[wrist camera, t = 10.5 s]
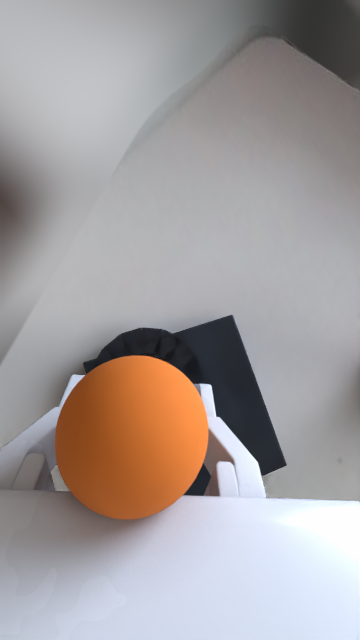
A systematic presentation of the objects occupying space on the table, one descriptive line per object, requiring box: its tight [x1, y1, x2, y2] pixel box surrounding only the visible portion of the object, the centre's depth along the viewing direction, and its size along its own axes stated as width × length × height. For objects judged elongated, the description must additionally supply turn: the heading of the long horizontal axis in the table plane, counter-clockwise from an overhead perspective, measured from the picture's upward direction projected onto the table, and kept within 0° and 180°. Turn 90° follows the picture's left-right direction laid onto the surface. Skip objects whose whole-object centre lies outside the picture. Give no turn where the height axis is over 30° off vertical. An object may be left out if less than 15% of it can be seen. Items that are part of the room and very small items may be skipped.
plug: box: [55, 356, 208, 520], centre depth 11 cm, size 4×4×12 cm
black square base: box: [83, 315, 287, 496], centre depth 21 cm, size 12×13×2 cm
